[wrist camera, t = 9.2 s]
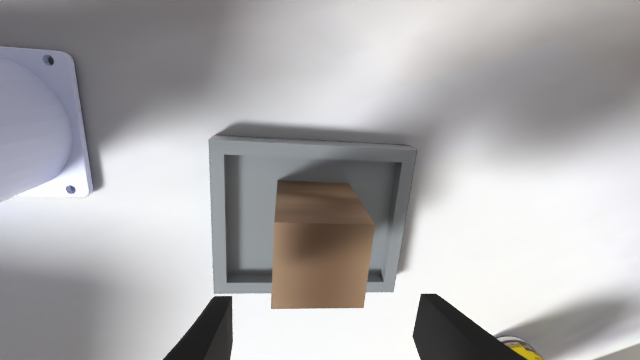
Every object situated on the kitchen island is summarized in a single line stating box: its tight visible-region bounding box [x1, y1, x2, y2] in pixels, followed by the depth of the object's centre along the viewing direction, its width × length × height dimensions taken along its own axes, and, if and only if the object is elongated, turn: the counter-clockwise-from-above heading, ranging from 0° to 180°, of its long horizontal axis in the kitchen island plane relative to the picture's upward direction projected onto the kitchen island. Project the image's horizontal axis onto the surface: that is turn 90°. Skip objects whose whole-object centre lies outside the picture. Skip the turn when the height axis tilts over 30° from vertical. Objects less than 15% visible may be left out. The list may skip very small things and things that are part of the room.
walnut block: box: [271, 180, 375, 309], centre depth 17 cm, size 4×4×6 cm
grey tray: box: [209, 135, 417, 294], centre depth 20 cm, size 12×10×2 cm
